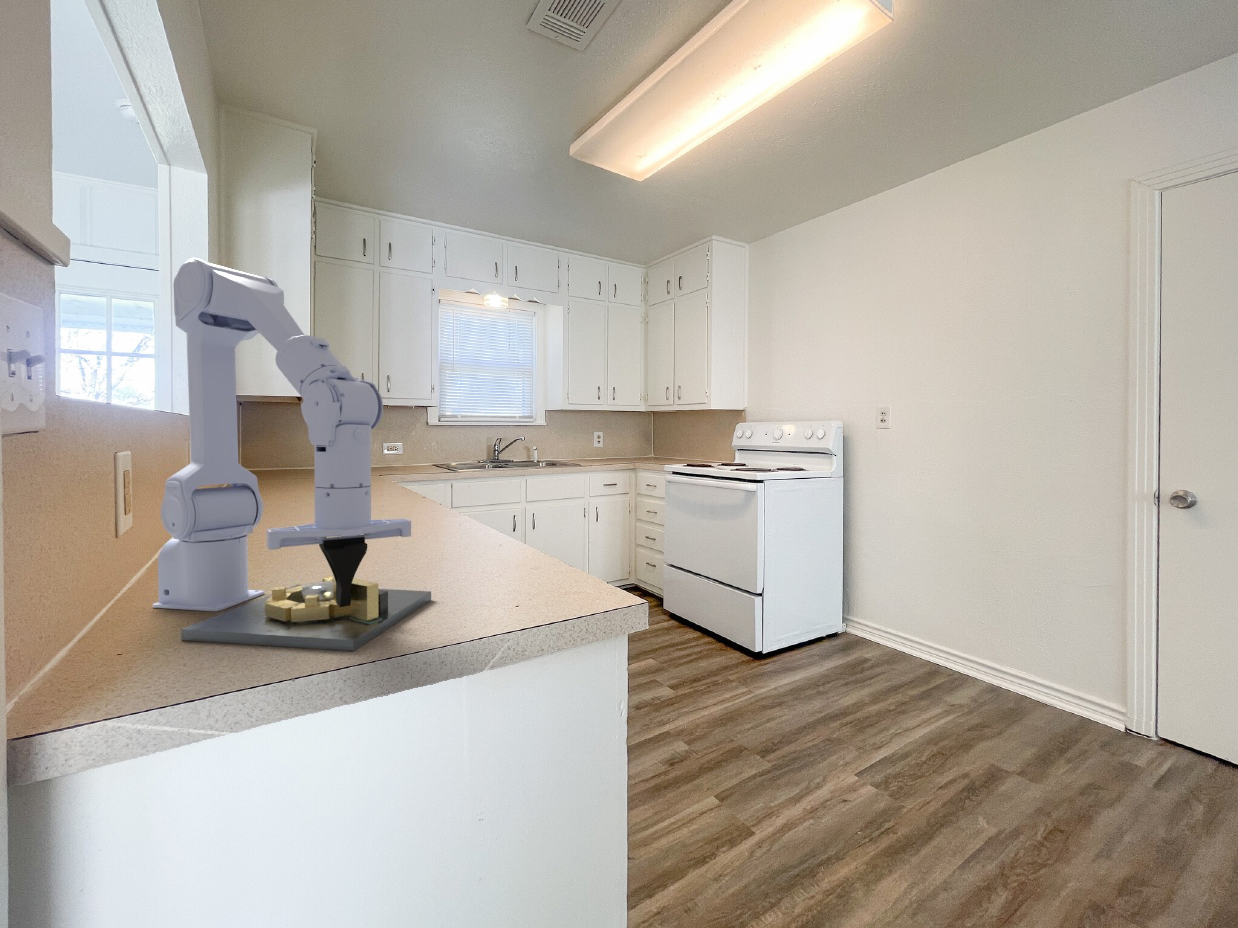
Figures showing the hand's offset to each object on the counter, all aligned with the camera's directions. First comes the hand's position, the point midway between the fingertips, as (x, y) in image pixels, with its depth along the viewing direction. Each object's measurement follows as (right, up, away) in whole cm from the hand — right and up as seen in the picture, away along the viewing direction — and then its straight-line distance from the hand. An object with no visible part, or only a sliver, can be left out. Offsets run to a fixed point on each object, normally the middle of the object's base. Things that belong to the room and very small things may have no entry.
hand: (343, 604), depth 61 cm
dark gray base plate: (-5, -3, +5) cm, 8 cm away
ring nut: (-4, -2, +4) cm, 6 cm away
